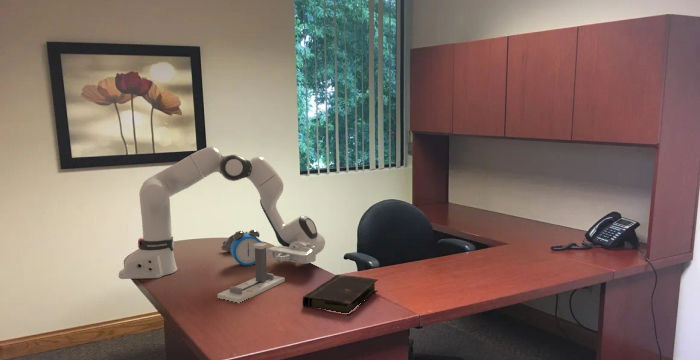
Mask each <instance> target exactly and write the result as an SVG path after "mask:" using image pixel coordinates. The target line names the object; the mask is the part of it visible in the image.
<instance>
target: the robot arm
mask: <svg viewBox="0 0 700 360" xmlns="http://www.w3.org/2000/svg"><path fill="white" fill-rule="evenodd" d="M214 173H219V174H221V176H222V177H223V178H224V179H225V180H228V181H230V182H235V181H240V180H242V179H245V178H246V179H248V180H249V181H250V182H251V183H252V184H253V186H254V187H255V189H256V190H257V191H258V192H257V193H258V194H259V196H260V199H259V204H260V207H261V209H262V211H263V213H264V215H265V217H266V219H267V220H268V223H269V224H270V226H271V228H272V229H273V232H274V234H275V237H276V239H277V242H278V243H279V244H280V245H275V246H272V247H269V248H268V247H267V249H266V255H267V257H268V258H271V259H272V258H273V259H275V261H276V262H281V263H282V262H293V263H294V262H295V263H298V264H304V265H305V264H310V263H314V262H316V259H317V255H318V254H319V253H321V252H322V251H323V250H324V248H325V246H326V240H325V237H324V236H323V235H322V234H320V233H319V232H318V230H317V226H316V224H315V222H314V220H313V219H311V218H310V217H309V216H306V215H301V216H299V217H296V218H295V219H293V220H292V221H290V222H288V223H285V222H284V220H283V218H282V216H281V215H280V212H279V211H278V209H277V208H278V207H277V202H278V201H279V199H280V197H281V196H282V193H283V192H284V182H283V179H282V178H281V176H280V175H279V174H278V173H277V171H276V169H275V168H274V167H273V166H272V165H271V163H270V162H269V161H268V160H266V159H265V158H264V157H262V156H255V157H253V158H251V159H247V158H245V157H243V156H241V155H239V154H230V155H223V154H222V153H221V152H220V150H219V149H218V148H216V147H214V146H208V147H204V148H202V149H200V150H197V151H194V153H191V154H190V155H188V156H186V157H184V158H183V159H181V160H180V161H178V162H176V163H175V164H173V165H171V166H169V167H166V168H165V169H163V170H161V171H159V172H157V173H156V174H154V175H151V176H150V177H148V178H147V179H146V180H145V181H144V182H143V183H142V185H141V187H140V190H139V204H140V205H139V206H140V215H141V223H142V224H141V225H142V237H140V238H138V239H137V241H138V242H137V249H136V250H135V251H134V252H132V253H131V254H130V255H129V256H128V257H127V258H126V259H125V262H124V267H123V268H122V269H120V270H119V271H118V278H119V279H121V280H124V279H125V280H131V279H133V280H134V279H136V280H137V279H159V278H162V277H163V276H167V275H170V274H173V273H176V272H177V271H178V266H177V263H176V260H175V255H174V248H175V246H174V245H175V244H174V236H172V235H173V234H172V219H171V218H172V216H171V203H170V202H171V201H170V200H171V199H170V197H172V196H174V195H176V194H178V193H180V192H182V191H184V190H186V189H188V188H190V187H192V186H193V185H195V184H197V183H199V182H200V181H202V180H204V179H205V178H207V177H208V176H210V175H212V174H214Z"/></svg>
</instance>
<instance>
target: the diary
mask: <svg viewBox="0 0 700 360" xmlns="http://www.w3.org/2000/svg"><path fill="white" fill-rule="evenodd" d="M377 281H379V279H376V278H370V277H363V276H357V275H356V276H355V275H342V274H335V275H334V276H333V277H331V278H330V279H328V280H327V281H325V282H324V283H322V284H320V285H318V286H317V287H316V288H315V289H314V290H312V291H310V292H308V293H307V294H305V295H303V297H302V308H306V307H307V306H308V308H313V307H315V308H314V309H316V308H321V309H320V310H322V309H326V310H331V311H336V312H341V313H349V312H350V311H351V310H353V309H354V308H355V307H356V306H357V305H359V304H360V303H361V304H360V305H361V306H362V305H364V304H365V303H366V302H367V301H368V300H369V299H370V297H372V296H373V295H375V294H376V293H378V292H379V290H375V289H376V287H375V283H376V282H377ZM366 299H368V300H366ZM364 300H365V301H364ZM306 305H307V306H306ZM360 305H359V306H360ZM305 306H306V307H305ZM311 306H312V307H311ZM361 306H360V307H361ZM350 314H351V313H350ZM350 314H347V315H346V316H350ZM351 315H352V314H351Z"/></svg>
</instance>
